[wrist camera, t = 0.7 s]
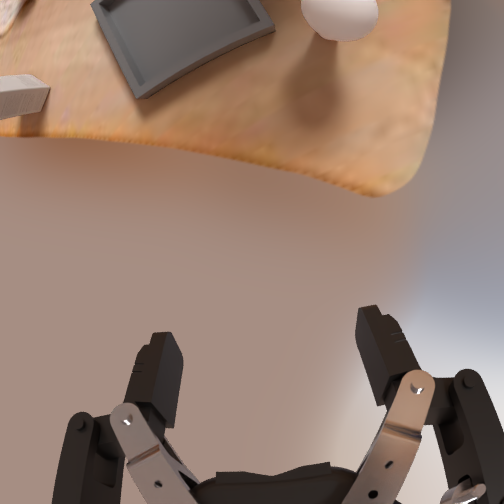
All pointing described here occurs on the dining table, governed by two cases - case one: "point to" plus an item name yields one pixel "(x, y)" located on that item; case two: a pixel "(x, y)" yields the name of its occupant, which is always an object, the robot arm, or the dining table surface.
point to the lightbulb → (341, 18)
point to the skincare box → (21, 95)
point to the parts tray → (175, 35)
